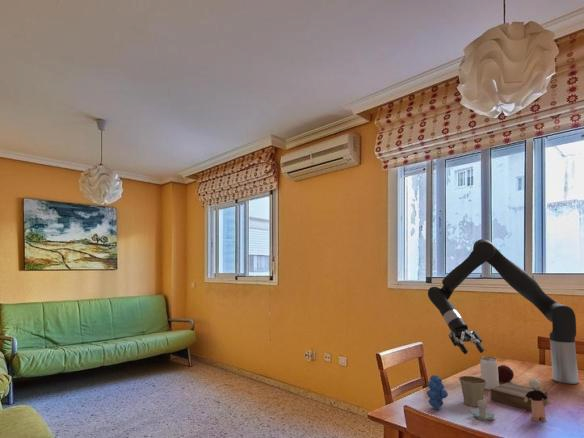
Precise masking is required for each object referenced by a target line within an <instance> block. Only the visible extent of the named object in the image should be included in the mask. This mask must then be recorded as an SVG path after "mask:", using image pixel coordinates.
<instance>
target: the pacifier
mask: <svg viewBox="0 0 584 438" xmlns="http://www.w3.org/2000/svg"><path fill="white" fill-rule="evenodd" d="M476 407H478V409H475V408H470V413H471V414H472V416H473V417H476V418H477V419H478V420H481V421H485V422H488V421H493V420H496V417H495V415H496V414H495V413H488V412H487V407H488V405H487V403H486V402H485V400H484V399H483V400H478V402H477V406H476Z"/></svg>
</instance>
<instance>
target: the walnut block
mask: <svg viewBox="0 0 584 438" xmlns="http://www.w3.org/2000/svg"><path fill="white" fill-rule="evenodd" d="M489 391H490V400H491V401H492V402H497V403H499V402H500V404H504V405H507V406H511V407H514V408H518V409H521V410H525V411H529V412H532V406H531V398H530V399H528V401H527V402H524V399H525V395H526V394H527V393H528V392H529V391H534V390H533V389H532V388H531V387H530V386H524V385H521V384H515V383H512V382H504V383H503V384H499V386H497V387H495V388H492V389H490V390H489ZM538 391H542V392H543V393H544V394H545V395H546V396H547V397H548V391H547V390H546V391H545V390H541V389H539V390H538ZM542 401H543V405H544V406H545V405H548V404H547V403H546V401H545V400H544V399H543V398H542Z"/></svg>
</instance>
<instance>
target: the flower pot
mask: <svg viewBox="0 0 584 438" xmlns="http://www.w3.org/2000/svg"><path fill="white" fill-rule="evenodd" d="M458 380H459V383H460V385H461V390H462V397H463V402H464V403H465V404H466V405H467V406H471V407H478V406H477V402H478V400H483V401H484V395H485V389H484V387H485V384H486V383H487V381H486V380H485V379H482V378H481V377H478V376H473V375H462V376H459V377H458Z"/></svg>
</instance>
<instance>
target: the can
mask: <svg viewBox="0 0 584 438" xmlns="http://www.w3.org/2000/svg"><path fill="white" fill-rule="evenodd" d="M498 366H499V365H498V362H497V358H496V357H491V356H490V357H489V356H482V357H480V378H482V379H485V380H486V381H487V383H486V384H485V387H484V390H486V391H491V390H490V389H492V388H495V387H497V386H500V380H499V378H498Z"/></svg>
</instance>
